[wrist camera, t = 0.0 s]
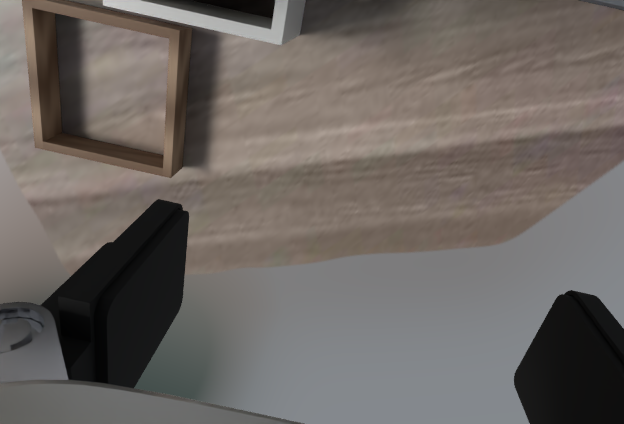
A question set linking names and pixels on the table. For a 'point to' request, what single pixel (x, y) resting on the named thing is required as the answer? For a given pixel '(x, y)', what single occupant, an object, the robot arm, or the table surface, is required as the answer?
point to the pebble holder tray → (608, 3)
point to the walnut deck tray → (46, 93)
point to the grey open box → (224, 17)
